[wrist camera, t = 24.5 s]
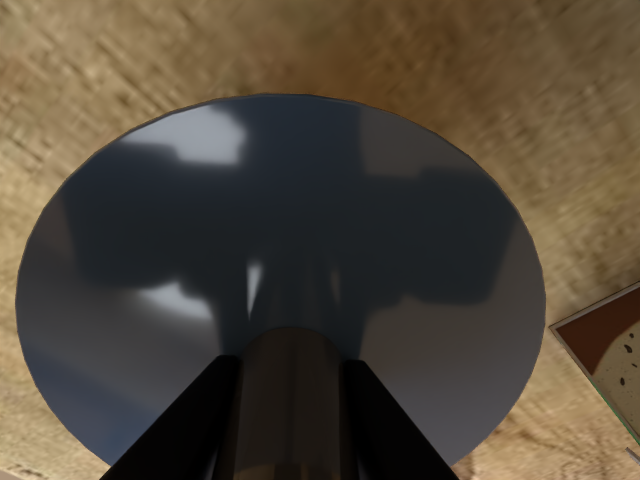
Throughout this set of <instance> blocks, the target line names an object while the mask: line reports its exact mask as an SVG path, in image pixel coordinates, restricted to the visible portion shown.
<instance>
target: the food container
mask: <svg viewBox="0 0 640 480" xmlns="http://www.w3.org/2000/svg"><path fill="white" fill-rule="evenodd" d="M549 328H550V329H551V331H552V332H553V334H554V335H555V337H556V338H557V339H558V341H559V342H560V343H561V344H562V346H563V347H564V348H565V350H566V351H567V352H568V354H569V355H570V356H571V357H572V359H573V360H574V361H575V363H576V364H577V365H578V367H579V368H580V369H581V370H582V372H583V373H584V374H585V376H586V377H587V378H588V379H589V381H590V382H591V383H592V385H593V386H594V387H595V389H596V390H597V391H598V392H599V394H600V395H601V396H602V398H603V399H604V400H605V401H606V403H607V404H608V405H609V407H610V408H611V409H612V411H613V412H614V413H615V414H616V416H617V417H618V418H619V420H620V421H621V422H622V423H623V425H624V426H625V427H626V429H627V430H628V431H629V433H630V434H631V435H632V436H633V438H634V439H635V440H636V442H637V443H638V444H639V446H640V282H638V283H636V284H634V285H632V286H630V287H628V288H626V289H624V290H622V291H620V292H618V293H616V294H614V295H612V296H610V297H608V298H606V299H604V300H602V301H600V302H598V303H596V304H594V305H592V306H590V307H588V308H586V309H584V310H582V311H580V312H578V313H576V314H574V315H572V316H570V317H568V318H566V319H564V320H562V321H560V322H558V323H556V324H554V325H552V326H550V327H549ZM625 450H626V451H627V453H628V454H629V456H630V457H631V458H632V459H633V460H634V461H635V462H636V463H638V464H639V465H640V457H639V456H638V455H636V454H635V453H634V452H633V451H632V450H630V449H629V448H628V447H627V448H626V449H625Z"/></svg>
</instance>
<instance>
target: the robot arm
mask: <svg viewBox="0 0 640 480" xmlns="http://www.w3.org/2000/svg"><path fill="white" fill-rule="evenodd" d="M236 370H237V357H236V356H235V355H218V356H217V357H215V359H214V360H213V361H212V362H211V363H210V364H209V365H208V366H207V367H206V368H205V369H204V370H203V371H202V372H201V373H200V374H199V375H198V376H197V377H196V378H195V380H194V381H193V382H192V383H191V384H190V385H189V386H188V387H187V388H186V389H185V390H184V391H183V392H182V393H181V394H180V395H179V396H178V397H177V398H176V399H175V401H174V402H173V403H172V404H171V405H170V406H169V407H168V408H167V409H166V410H165V411H164V412H163V413H162V414H161V415H160V416H159V417H158V418H157V419H156V421H155V422H154V423H153V424H152V425H151V426H150V427H149V428H148V429H147V430H146V431H145V432H144V433H143V434H142V435H141V436H140V437H139V438H138V439H137V440H136V442H135V443H134V444H133V445H132V446H131V447H130V448H129V449H128V450H127V451H126V452H125V453H124V454H123V455H122V456H121V457H120V458H119V459H118V460H117V461H116V463H115V464H114V465H113V466H112V467H111V468H110V469H109V470H108V471H107V472H106V473H105V474H104V475H103V476H102V477H101V478H100V479H99V480H211V477H212V473H213V468H214V464H215V460H216V455H217V451H218V447H219V443H220V438H221V434H222V430H223V425H224V421H225V417H226V413H227V408H228V404H229V400H230V396H231V391H232V387H233V383H234V378H235V374H236ZM344 370H345V377H346V384H347V391H348V398H349V405H350V412H351V419H352V426H353V433H354V440H355V447H356V454H357V461H358V468H359V475H360V480H459V478H458V477H457V476H456V475H455V473H454V472H453V471H452V470H451V468H450V467H449V466H448V465H447V463H446V462H445V461H444V460H443V458H442V457H441V456H440V455H439V453H438V452H437V451H436V450H435V448H434V447H433V446H432V445H431V443H430V442H429V441H428V440H427V438H426V437H425V436H424V435H423V433H422V432H421V431H420V430H419V428H418V427H417V426H416V425H415V423H414V422H413V421H412V420H411V418H410V417H409V416H408V415H407V413H406V412H405V411H404V410H403V408H402V407H401V406H400V405H399V403H398V402H397V401H396V400H395V398H394V397H393V396H392V395H391V393H390V392H389V391H388V390H387V388H386V387H385V386H384V385H383V383H382V382H381V381H380V380H379V378H378V377H377V376H376V375H375V373H374V372H373V371H372V370H371V368H370V367H369V366H368V365H367V363H366V362H365V361H363V360H354V359H348V360H346V362H345V365H344Z"/></svg>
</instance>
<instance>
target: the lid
mask: <svg viewBox="0 0 640 480" xmlns="http://www.w3.org/2000/svg"><path fill="white" fill-rule="evenodd" d="M15 309H16V322H17V333H18V337H19V341H20V344H21V348H22V352H23V356H24V360H25V362H26V364H27V367H28V369H29V371H30V374H31V376H32V378H33V381H34V383H35V385H36V387H37V388H38V390H39V392H40V393H41V395H42V397H43V398H44V400H45V401H46V403H47V405H48V406H49V408H50V409H51V410H52V412H53V413H54V414H55V415H56V417H57V418H58V419H59V420H60V421H61V423H62V424H63V425H64V426H65V428H66V429H67V430H68V431H69V432H70V433H71V434H72V435H73V436H74V437H75V438H77V439H78V440H79V441H80V442H81V443H82V444H83V445H84V446H85V447H86V448H87V449H88V450H90V451H91V452H92V453H94V454H95V455H96V456H98V457H99V458H100V459H102V460H103V461H104V462H106V463H107V464H108V465H110V466H111V467H112V466H113V465H114V464H115V463H116V461H117V460H118V459H119V458H120V457H121V456H122V455H123V454H124V453H125V452H126V451H127V450H128V449H129V448H130V447H131V446H132V445H133V444H134V443H135V442H136V440H137V439H138V438H139V437H140V436H141V435H142V434H143V433H144V432H145V431H146V430H147V429H148V428H149V427H150V426H151V425H152V424H153V423H154V422H155V421H156V419H157V418H158V417H159V416H160V415H161V414H162V413H163V412H164V411H165V410H166V409H167V408H168V407H169V406H170V405H171V404H172V403H173V402H174V401H175V399H176V398H177V397H178V396H179V395H180V394H181V393H182V392H183V391H184V390H185V389H186V388H187V387H188V386H189V385H190V384H191V383H192V382H193V381H194V380H195V378H196V377H197V376H198V375H199V374H200V373H201V372H202V371H203V370H204V369H205V368H206V367H207V366H208V365H209V364H210V363H211V362H212V361H213V360H214V359H215V357H217V356H218V355H235V356H236V357H237V370H236V374H235V378H234V383H233V387H232V391H231V396H230V400H229V404H228V408H227V413H226V417H225V421H224V425H223V430H222V434H221V438H220V443H219V447H218V451H217V455H216V460H215V464H214V468H213V473H212V477H211V480H360V475H359V468H358V461H357V454H356V447H355V440H354V433H353V426H352V419H351V412H350V405H349V398H348V391H347V384H346V377H345V370H344V365H345V362H346V360H348V359H354V360H363V361H365V362H366V363H367V365H368V366H369V367H370V368H371V370H372V371H373V372H374V373H375V375H376V376H377V377H378V378H379V380H380V381H381V382H382V383H383V385H384V386H385V387H386V388H387V390H388V391H389V392H390V393H391V395H392V396H393V397H394V398H395V400H396V401H397V402H398V403H399V405H400V406H401V407H402V408H403V410H404V411H405V412H406V413H407V415H408V416H409V417H410V418H411V420H412V421H413V422H414V423H415V425H416V426H417V427H418V428H419V430H420V431H421V432H422V433H423V435H424V436H425V437H426V438H427V440H428V441H429V442H430V443H431V445H432V446H433V447H434V448H435V450H436V451H437V452H438V453H439V455H440V456H441V457H442V458H443V460H444V461H445V462H446V463H447V465H448V466H449V467H451V466H453V465H454V464H456V463H457V462H458V461H460V460H461V459H462V458H464V457H465V456H467V455H468V454H469V453H471V452H472V451H473V450H474V449H475V448H476V447H477V446H478V445H480V444H481V443H482V442H483V441H484V440H485V439H486V438H487V437H488V436H489V435H490V434H491V433H492V432H493V431H494V430H495V429H496V428H497V426H498V425H499V424H500V423H501V422H502V421H503V420H504V419H505V417H506V416H507V414H508V413H509V412H510V410H511V409H512V407H513V406H514V405H515V403H516V402H517V400H518V399H519V397H520V395H521V394H522V392H523V390H524V388H525V386H526V384H527V382H528V380H529V378H530V376H531V374H532V372H533V369H534V366H535V363H536V360H537V358H538V355H539V352H540V348H541V343H542V338H543V332H544V327H545V310H546V294H545V287H544V279H543V272H542V267H541V264H540V261H539V257H538V254H537V251H536V248H535V245H534V242H533V239H532V236H531V235H530V233H529V231H528V229H527V227H526V225H525V223H524V221H523V219H522V217H521V215H520V213H519V212H518V210H517V208H516V207H515V205H514V204H513V203H512V202H511V200H510V199H509V198H508V196H507V195H506V194H505V192H504V191H503V190H502V188H501V187H500V186H499V184H498V183H497V182H496V181H495V180H494V179H493V178H492V177H491V176H490V175H489V174H488V173H487V172H486V171H485V170H484V169H483V168H482V167H480V166H479V165H478V164H477V163H476V162H475V161H474V160H473V159H472V158H471V157H470V156H469V155H467V154H466V153H464V152H463V151H461V150H460V149H459V148H457V147H456V146H454V145H453V144H451V143H450V142H448V141H447V140H445V139H444V138H442V137H441V136H440V135H438V134H437V133H435V132H433V131H431V130H429V129H427V128H424V127H422V126H420V125H418V124H416V123H414V122H412V121H410V120H408V119H406V118H404V117H402V116H400V115H397V114H394V113H391V112H388V111H385V110H382V109H379V108H375V107H372V106H369V105H366V104H363V103H359V102H356V101H353V100H348V99H342V98H335V97H329V96H323V95H317V94H310V93H269V92H264V93H256V94H248V95H240V96H232V97H224V98H217V99H213V100H209V101H206V102H202V103H198V104H195V105H191V106H187V107H184V108H180V109H177V110H173V111H170V112H168V113H166V114H163V115H161V116H159V117H157V118H154V119H152V120H150V121H148V122H145V123H143V124H141V125H139V126H136V127H134V128H132V129H130V130H128V131H127V132H125V133H124V134H122V135H121V136H119V137H118V138H116V139H115V140H113V141H111V142H110V143H108V144H107V145H105V146H104V147H102V148H101V149H99V150H98V151H96V152H95V153H94V154H93V155H92V156H90V157H89V158H88V159H87V160H86V161H85V162H84V163H83V164H82V165H81V166H80V167H78V168H77V169H76V170H75V171H74V172H73V173H72V174H71V175H70V176H69V177H68V178H66V180H65V181H64V182H63V184H62V185H61V186H60V187H59V189H58V190H57V191H56V193H55V194H54V195H53V197H52V198H51V199H50V200H49V202H48V203H47V204H46V206H45V207H44V208H43V210H42V212H41V214H40V216H39V218H38V220H37V222H36V224H35V226H34V228H33V230H32V232H31V234H30V236H29V238H28V240H27V243H26V246H25V250H24V253H23V256H22V260H21V263H20V267H19V270H18V277H17V287H16V296H15Z"/></svg>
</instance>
